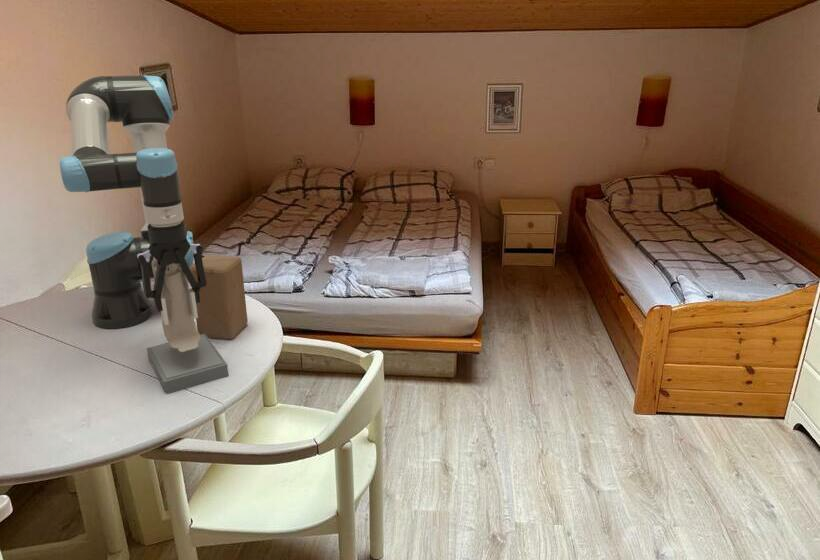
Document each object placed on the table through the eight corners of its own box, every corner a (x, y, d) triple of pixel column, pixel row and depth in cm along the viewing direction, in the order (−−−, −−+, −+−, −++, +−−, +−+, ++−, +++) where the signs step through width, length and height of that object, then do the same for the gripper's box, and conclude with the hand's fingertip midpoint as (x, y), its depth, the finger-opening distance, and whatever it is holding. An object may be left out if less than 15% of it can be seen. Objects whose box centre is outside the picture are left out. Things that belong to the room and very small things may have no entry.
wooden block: (232, 341, 152) (223, 269, 144) (196, 337, 153) (186, 266, 146) (249, 324, 161) (242, 256, 153) (215, 320, 163) (207, 252, 155)
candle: (173, 354, 129) (158, 270, 122) (161, 329, 140) (147, 251, 133) (206, 346, 133) (193, 264, 125) (192, 322, 144) (180, 245, 136)
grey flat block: (148, 358, 143) (146, 347, 142) (206, 343, 150) (204, 332, 149) (165, 393, 129) (163, 381, 128) (228, 375, 136) (227, 363, 135)
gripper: (121, 233, 118) (140, 335, 127) (214, 220, 128) (226, 315, 137) (115, 224, 124) (133, 322, 133) (204, 212, 134) (216, 304, 142)
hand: (180, 319), depth 135 cm, fingers closed on candle, 6 cm apart
